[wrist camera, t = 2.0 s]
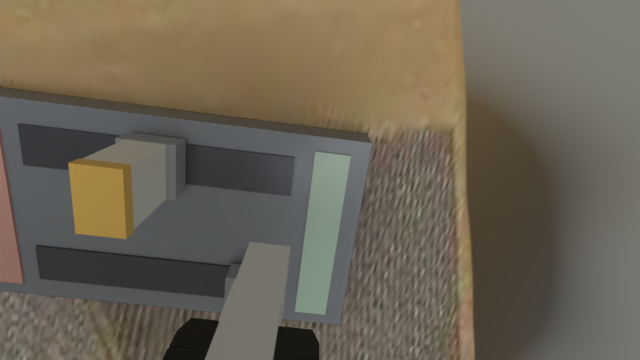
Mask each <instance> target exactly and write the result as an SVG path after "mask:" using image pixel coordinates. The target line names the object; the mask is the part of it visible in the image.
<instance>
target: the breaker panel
mask: <svg viewBox="0 0 640 360" xmlns="http://www.w3.org/2000/svg"><path fill="white" fill-rule="evenodd" d="M129 132H133V133H141V134H150V135H158V136H166V137H174V138H182V139H186V179H185V191H184V192H183V193H182V194H181V195H180V196H179V197H178V198H177V199H176V200H170V199H166V200H165V201H164V202H163V203H162V204H160V205H159V206H158V207H157V208H156V209H155V210H154V211H153V212H152V213H151V214H150V215H149V216H148V217H147V218H146V219H145V220H144V221H143V222H142V223H141V224H140V225H139V226H138V227H136V228H135V229H134V232H133V233H132V234H131V235H130V236H129V237H128V238H127V239H120V238H111V237H102V236H93V235H84V234H75V224H74V214H73V204H72V195H71V185H70V175H69V165H68V163H70V162H72V161H74V160H76V159H79V158H80V159H82V158H85V157H87V156H89V155H91V154H94V153H96V152H98V151H100V150H103V149H105V148H107V147H109V146H112V145H114V144H115V138H117V137H119V136H121V135H124V134H126V133H129ZM371 148H372V142H371V140H370V139H369V137H368V135H367V134H364V133H356V132H348V131H341V130H333V129H325V128H317V127H309V126H301V125H293V124H285V123H277V122H270V121H262V120H254V119H246V118H238V117H230V116H222V115H214V114H206V113H199V112H191V111H183V110H175V109H167V108H159V107H151V106H143V105H136V104H128V103H120V102H112V101H104V100H96V99H88V98H80V97H72V96H65V95H57V94H49V93H41V92H33V91H25V90H17V89H9V88H2V87H0V291H9V292H19V293H29V294H38V295H48V296H58V297H68V298H78V299H88V300H98V301H108V302H118V303H128V304H138V305H148V306H157V307H167V308H177V309H187V310H197V311H207V312H217V313H221V315H220V318H219V321H220V319H221V316H222V313H223V311H224V308H225V306H226V303H227V300H228V298H229V295H230V293H231V290H232V287H233V285H234V282H235V279H236V277H237V274H238V272H239V269H240V266H241V264H242V261H243V259H244V256H245V253H246V251H247V248H248V245H249V243H250V242H257V243H266V244H275V245H283V246H291V248H290V257H289V265H288V274H287V282H286V291H285V300H284V308H283V315H282V319H286V320H296V321H306V322H316V323H326V324H336V325H340V320H341V314H342V309H343V303H344V297H345V292H346V286H347V281H348V275H349V270H350V264H351V259H352V253H353V248H354V242H355V236H356V231H357V225H358V220H359V214H360V209H361V203H362V198H363V192H364V187H365V181H366V176H367V170H368V164H369V159H370V153H371Z"/></svg>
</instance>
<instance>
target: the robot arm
mask: <svg viewBox="0 0 640 360" xmlns="http://www.w3.org/2000/svg"><path fill="white" fill-rule="evenodd" d="M290 248H291V246H283V245H275V244H266V243H257V242H250V243H249V245H248V248H247V251H246V253H245V256H244V259H243V261H242V264H241V266H240V269H239V272H238V274H237V277H236V279H235V282H234V285H233V287H232V290H231V293H230V295H229V298H228V300H227V303H226V306H225V308H224V311H223V313H222V316H221V319H220V321H215V320H206V319H196V318H191V319H190V320H189V321H188V322H186V323H185V324H184V325H183V326H182V327H181V328H179V329H178V330H177V332H176V334H175V336H174V338H173V340H172V342H171V344H170V347H169V348H168V350H167V351H166V353H165V355H164V357H163V360H319V342H318V340H317V338H316V336H315V334H314V332H313V330H309V329H300V328H291V327H281V321H282V315H283V308H284V300H285V291H286V282H287V274H288V265H289V257H290Z"/></svg>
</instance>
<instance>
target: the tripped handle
mask: <svg viewBox="0 0 640 360" xmlns="http://www.w3.org/2000/svg"><path fill="white" fill-rule="evenodd" d="M68 165H69V175H70V185H71V195H72V204H73V214H74V224H75V234H84V235H93V236H102V237H111V238H120V239H127V238H128V237H129V236H130V235H131V234H132V233H133V232H134V229H135V228H136V227H138V226H139V225H140V224H141V223H142V222H143V221H144V220H145V219H146V218H147V217H148V216H149V215H150V214H151V213H152V212H153V211H154V210H155V209H156V208H157V207H158V206H159V205H160V204H162V203H163V202H164V201H165V200H166V199H170V200H176V199H177V198H178V197H179V196H180V195H181V194H182V193H183V192H184V191H185V179H186V139H182V138H174V137H166V136H158V135H150V134H141V133H133V132H129V133H126V134H124V135H121V136H119V137H117V138H115V144H114V145H112V146H109V147H107V148H105V149H103V150H100V151H98V152H96V153H94V154H91V155H89V156H87V157H85V158H82V159H80V158H79V159H76V160H74V161H72V162H70V163H68Z"/></svg>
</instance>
